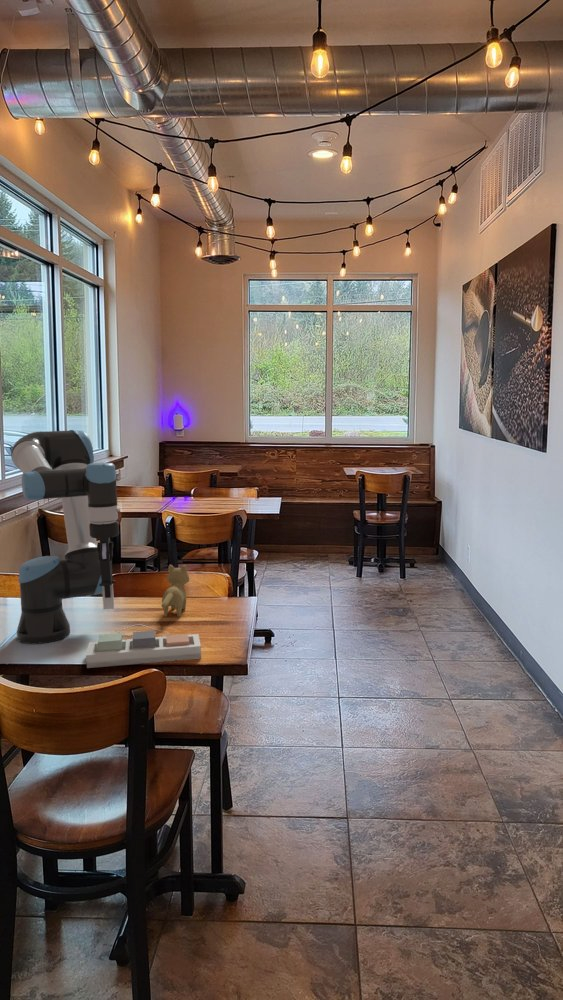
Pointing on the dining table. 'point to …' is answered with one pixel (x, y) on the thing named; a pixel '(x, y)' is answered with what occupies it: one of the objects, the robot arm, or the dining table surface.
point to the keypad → (142, 653)
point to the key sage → (110, 641)
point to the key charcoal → (144, 639)
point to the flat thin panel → (142, 625)
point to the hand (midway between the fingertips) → (108, 608)
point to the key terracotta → (177, 640)
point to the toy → (176, 590)
